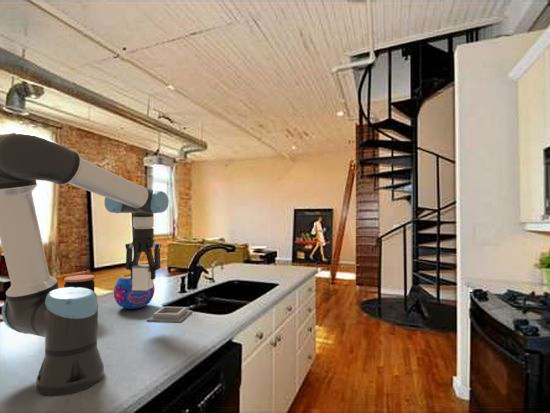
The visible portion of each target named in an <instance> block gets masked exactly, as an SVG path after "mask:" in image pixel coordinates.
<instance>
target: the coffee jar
mask: <svg viewBox="0 0 550 413" xmlns="http://www.w3.org/2000/svg"><path fill="white" fill-rule="evenodd" d="M94 279H95V275H94V274H78V275H70V276H67V277H64V280H63V281H64V282H65V283H64V285H63V288H66V287H74V288H77V287H82V288H87V289H90V290H92V291H94V292H95V281H94Z"/></svg>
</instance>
